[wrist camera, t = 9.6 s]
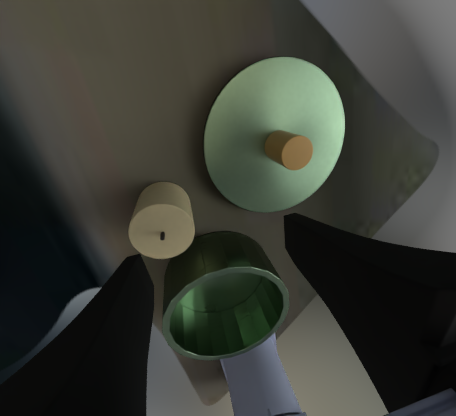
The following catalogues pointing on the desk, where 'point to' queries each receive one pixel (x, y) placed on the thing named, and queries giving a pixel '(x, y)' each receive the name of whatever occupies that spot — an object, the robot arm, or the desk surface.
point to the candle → (162, 221)
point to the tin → (221, 297)
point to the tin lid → (273, 134)
